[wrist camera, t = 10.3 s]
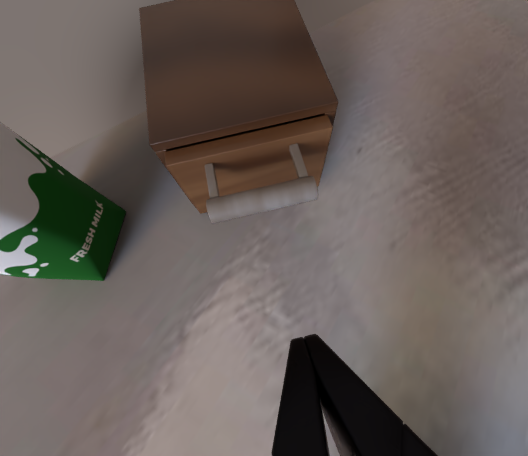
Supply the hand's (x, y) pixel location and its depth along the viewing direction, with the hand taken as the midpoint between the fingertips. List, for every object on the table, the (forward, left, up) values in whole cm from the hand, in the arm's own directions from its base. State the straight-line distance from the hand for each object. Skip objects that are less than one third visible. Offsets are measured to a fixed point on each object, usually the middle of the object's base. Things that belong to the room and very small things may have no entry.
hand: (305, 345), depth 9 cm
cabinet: (+14, -15, -14) cm, 25 cm away
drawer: (+12, -12, -13) cm, 21 cm away
